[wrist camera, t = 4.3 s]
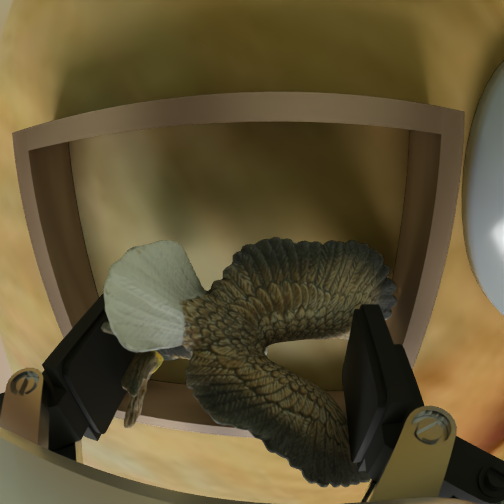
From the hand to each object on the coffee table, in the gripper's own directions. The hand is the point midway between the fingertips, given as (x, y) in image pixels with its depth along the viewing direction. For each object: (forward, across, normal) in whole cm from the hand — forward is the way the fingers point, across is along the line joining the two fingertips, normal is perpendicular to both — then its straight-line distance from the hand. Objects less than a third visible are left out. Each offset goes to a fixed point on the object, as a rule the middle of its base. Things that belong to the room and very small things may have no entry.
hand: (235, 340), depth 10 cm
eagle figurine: (+2, -1, 0) cm, 3 cm away
